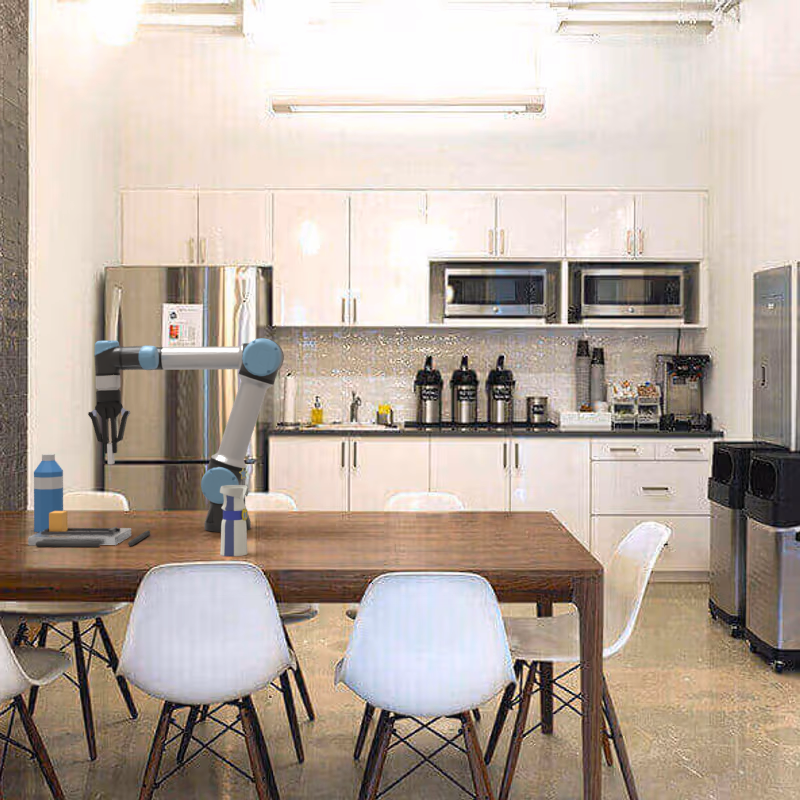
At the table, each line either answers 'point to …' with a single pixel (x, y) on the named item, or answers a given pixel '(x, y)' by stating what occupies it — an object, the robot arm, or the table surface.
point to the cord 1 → (66, 544)
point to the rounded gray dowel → (139, 538)
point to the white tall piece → (234, 519)
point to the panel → (83, 535)
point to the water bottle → (47, 491)
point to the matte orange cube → (58, 521)
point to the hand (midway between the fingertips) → (111, 463)
